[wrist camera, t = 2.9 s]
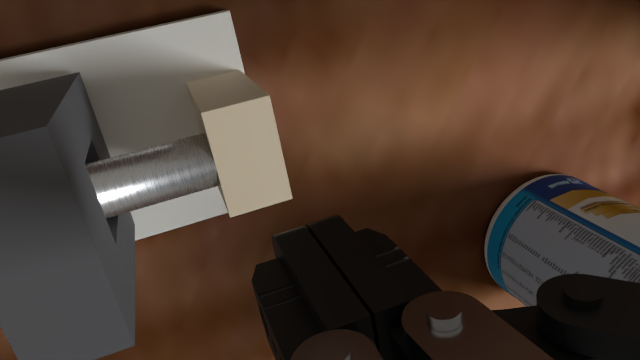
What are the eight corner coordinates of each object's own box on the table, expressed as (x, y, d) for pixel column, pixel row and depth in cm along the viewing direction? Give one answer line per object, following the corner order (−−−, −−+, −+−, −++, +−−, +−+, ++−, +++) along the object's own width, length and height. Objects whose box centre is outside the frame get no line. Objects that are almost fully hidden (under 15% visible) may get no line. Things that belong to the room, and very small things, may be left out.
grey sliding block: (79, 71, 21) (46, 126, 13) (134, 224, 24) (134, 345, 16) (-1, 90, 21) (-87, 159, 13) (65, 244, 23) (29, 382, 15)
